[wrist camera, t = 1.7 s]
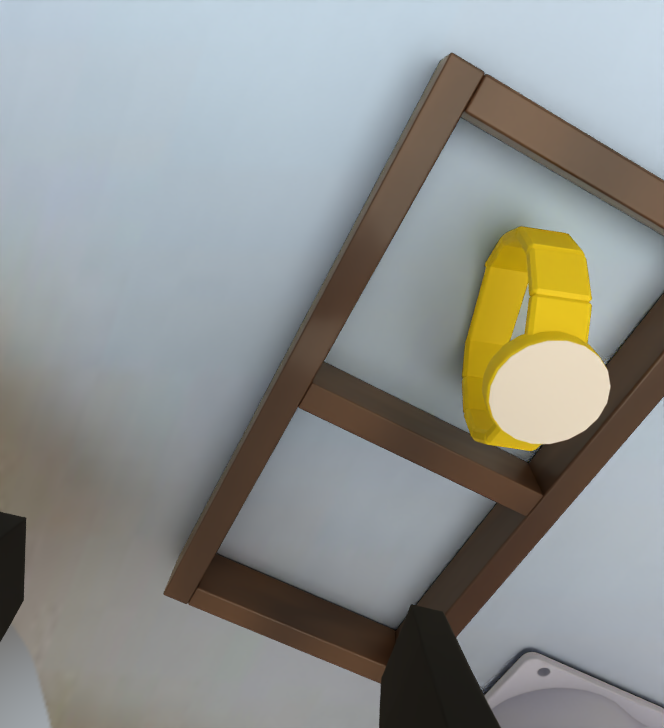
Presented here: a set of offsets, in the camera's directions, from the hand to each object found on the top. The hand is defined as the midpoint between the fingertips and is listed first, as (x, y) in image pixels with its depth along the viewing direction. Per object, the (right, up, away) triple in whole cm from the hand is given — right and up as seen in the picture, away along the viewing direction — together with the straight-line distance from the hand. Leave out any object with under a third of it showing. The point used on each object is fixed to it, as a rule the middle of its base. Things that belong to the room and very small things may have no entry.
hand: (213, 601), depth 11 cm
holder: (+5, +2, +10) cm, 11 cm away
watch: (+8, +6, +8) cm, 13 cm away
